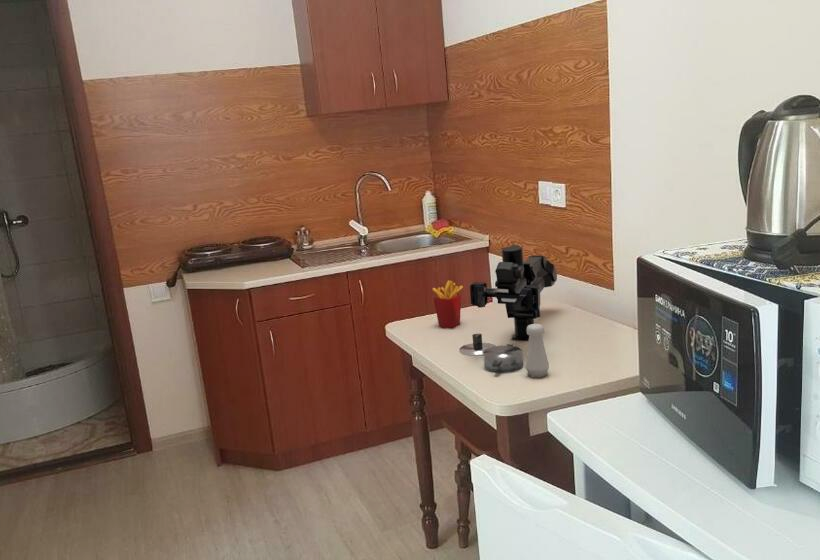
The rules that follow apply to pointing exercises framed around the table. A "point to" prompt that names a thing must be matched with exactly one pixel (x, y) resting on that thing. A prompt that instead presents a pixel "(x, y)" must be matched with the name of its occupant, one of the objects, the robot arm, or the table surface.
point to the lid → (475, 347)
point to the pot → (503, 359)
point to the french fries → (448, 305)
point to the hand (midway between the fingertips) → (495, 306)
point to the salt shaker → (536, 352)
